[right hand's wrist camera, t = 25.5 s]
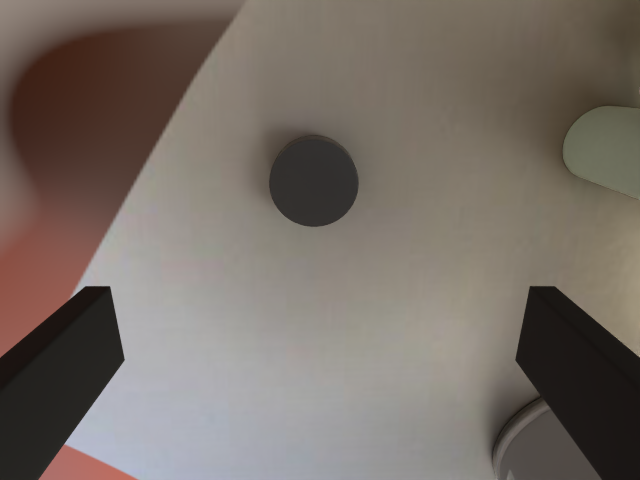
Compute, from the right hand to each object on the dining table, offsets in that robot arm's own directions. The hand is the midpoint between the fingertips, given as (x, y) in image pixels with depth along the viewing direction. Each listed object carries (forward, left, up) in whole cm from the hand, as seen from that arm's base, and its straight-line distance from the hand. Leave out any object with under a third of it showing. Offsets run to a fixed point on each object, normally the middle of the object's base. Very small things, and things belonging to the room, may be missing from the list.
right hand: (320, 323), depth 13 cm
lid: (+1, -1, -15) cm, 15 cm away
